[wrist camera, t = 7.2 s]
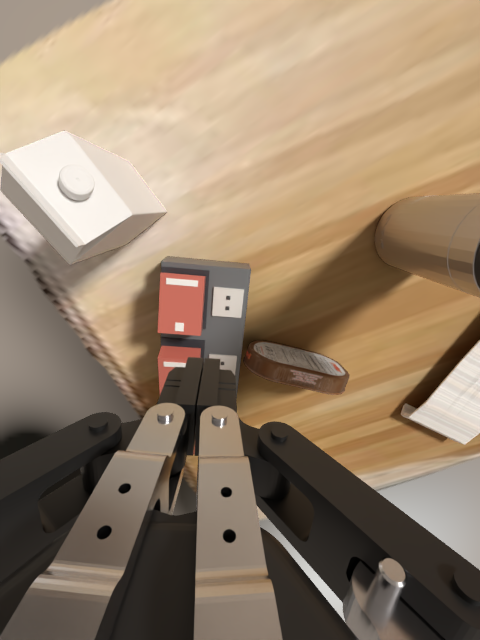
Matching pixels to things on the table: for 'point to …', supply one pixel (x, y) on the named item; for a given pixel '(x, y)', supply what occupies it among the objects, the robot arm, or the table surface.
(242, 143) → the table surface
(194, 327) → the block
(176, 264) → the power strip
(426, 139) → the table surface
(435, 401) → the white flat bar
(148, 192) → the milk carton
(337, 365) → the tin
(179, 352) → the block
